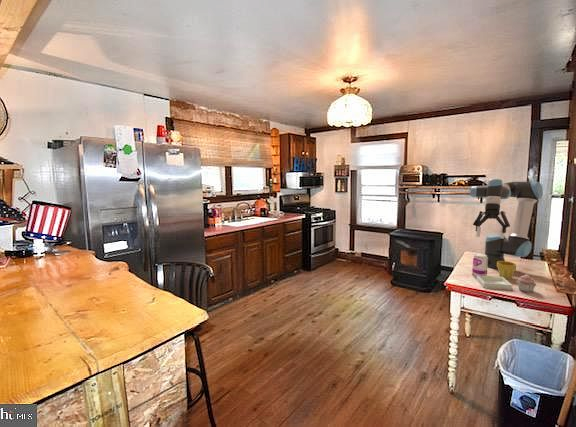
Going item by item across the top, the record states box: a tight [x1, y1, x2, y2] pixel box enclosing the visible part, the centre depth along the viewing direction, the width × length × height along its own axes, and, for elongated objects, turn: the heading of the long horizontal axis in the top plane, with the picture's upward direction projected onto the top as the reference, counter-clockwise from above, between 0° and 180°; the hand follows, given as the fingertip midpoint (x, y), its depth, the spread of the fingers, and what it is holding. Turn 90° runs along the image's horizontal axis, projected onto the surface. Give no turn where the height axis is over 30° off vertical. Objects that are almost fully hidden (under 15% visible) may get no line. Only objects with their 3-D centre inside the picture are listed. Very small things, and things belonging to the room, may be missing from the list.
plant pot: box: [497, 260, 517, 280], centre depth 195 cm, size 10×10×10 cm
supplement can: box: [471, 253, 488, 279], centre depth 197 cm, size 8×8×15 cm
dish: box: [476, 275, 513, 291], centre depth 183 cm, size 15×15×3 cm
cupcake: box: [515, 273, 537, 293], centre depth 172 cm, size 9×9×10 cm
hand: (489, 237), depth 181 cm, fingers open, 13 cm apart
